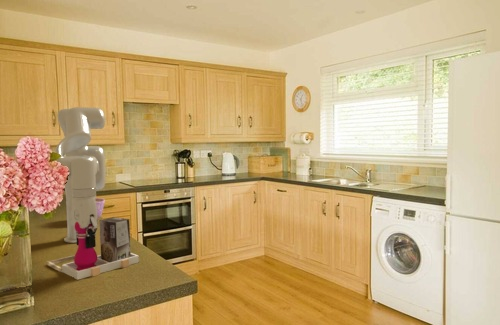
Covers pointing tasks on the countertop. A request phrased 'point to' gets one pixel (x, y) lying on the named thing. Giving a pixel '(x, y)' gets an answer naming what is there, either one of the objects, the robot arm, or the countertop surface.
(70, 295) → the countertop surface
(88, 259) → the pepper mill
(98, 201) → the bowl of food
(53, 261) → the tray frame
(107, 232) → the coffee box
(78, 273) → the frame
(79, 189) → the robot arm
